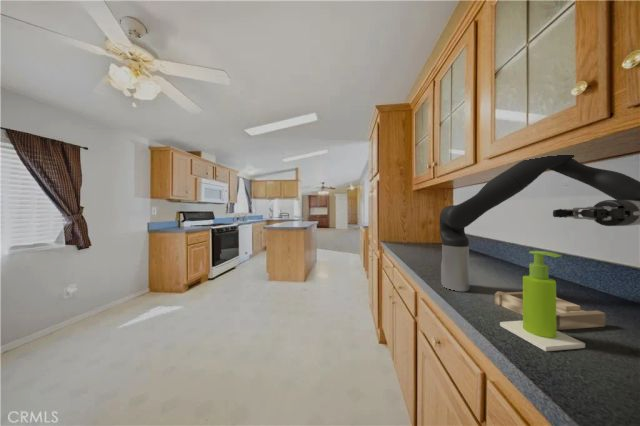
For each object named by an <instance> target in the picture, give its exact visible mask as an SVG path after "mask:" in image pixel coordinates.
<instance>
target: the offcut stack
mask: <svg viewBox="0 0 640 426" xmlns="http://www.w3.org/2000/svg"><path fill="white" fill-rule="evenodd" d="M583 311H585V310H584V309H581V305H578V304H576V303H573V302H570V301H567V300H564V299H562V298H559V297H557V296H556V313H568V312H583Z"/></svg>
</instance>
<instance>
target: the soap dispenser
mask: <svg viewBox="0 0 640 426" xmlns="http://www.w3.org/2000/svg"><path fill="white" fill-rule="evenodd" d="M529 254H533V262H530V263H529V274H528V275H523V276H522V292H523V315H522V320H523V329H524V330H526V331H527V332H529V333H531V334H534V335H537V336H540V337H545V338H555V337H556V297H557V281H556V280H554V279H553V278H549V275H550V274H549V273H550V271H549V267H550V266H549V265H547V264H546V263H544V259H545V258H544V256H548V257H552V258H557V259H558V258H561V257H563V255H562V254H559V253H556V252H551V251H544V250H530V251H529Z"/></svg>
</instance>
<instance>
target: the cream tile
mask: <svg viewBox="0 0 640 426" xmlns="http://www.w3.org/2000/svg"><path fill="white" fill-rule="evenodd" d="M499 326H500V327H502V329H503V328H504V329H506V331H508V332H511V333H512V334H514V335H516V336H518V337H519V338H521V339H522V340H525V341H526V342H529V344H532V345H534V346H536V347H537V348H539V349H541V350H542V351H544V352H553V351H554V352H555V351H563V350H565V351H566V350H575V349H585V348H586V342H583V341H581V340H578V339H576V338H574V337H572V336H569V335H567V334H565V333H564V332H561V331H560V330H556V337H555V338H545V337H540V336H537V335H534V334H531V333H529V332H527V331H526V330H524V329H523V319H522V320H509V321H500V322H499Z"/></svg>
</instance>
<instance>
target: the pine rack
mask: <svg viewBox="0 0 640 426" xmlns="http://www.w3.org/2000/svg"><path fill="white" fill-rule="evenodd" d="M494 304H495V305H496V306H498V307H503V308H505V309H508V310H510V311H512V312H514V313H515V314H516V313H517V314H518V315H521V316H523V291H513V292H503V291H502V290H501V291H496V292H495V293H494ZM599 327H606V312H603V311H600V310H584V311H583V312H568V313H556V330H557V331H561V330H562V331H563V330H574V329H576V330H577V329H585V328H586V329H587V328H599Z"/></svg>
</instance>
